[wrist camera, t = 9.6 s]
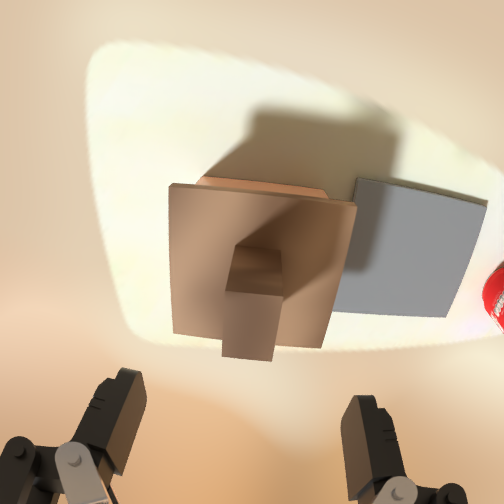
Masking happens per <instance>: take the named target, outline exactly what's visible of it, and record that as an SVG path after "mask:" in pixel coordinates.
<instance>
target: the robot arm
mask: <svg viewBox="0 0 504 504" xmlns="http://www.w3.org/2000/svg"><path fill="white" fill-rule="evenodd" d="M146 402H147V396H146V390H145V386H144V381H143V377H142V373H141V372H140V371H136V370H131V369H127V368H121V369H120V370H119V372H118V374H117V376H116V378H115V379H111V378H107V379H106V380H105V381H103V382H102V383H101V384H100V385H99V386H98V388H97V389H96V391H95V393H94V395H93V399H91V401H90V403H89V407H87V409H86V411H85V413H84V416H83V418H82V420H81V422H80V424H79V426H78V428H77V430H76V432H75V434H74V436H73V438H72V439H71V440H70V441H69V442H67V443H64V444H62V445H61V446H60V447H46V446H35V445H34V444H33V443H32V442H31V441H30V440H29V439H27V438H25V437H21V436H17V437H14V438H12V439H10V440H9V441H8V442H7V443H6V445H5V448H4V449H3V452H2V454H1V456H0V504H57V502H58V499H59V496H60V494H61V493H62V494H65V495H66V498H67V501H68V504H120V502H119V500H118V498H117V496H116V493H115V491H114V489H113V487H112V484H111V479H112V476H113V474H116V475H120V476H122V474H123V471H124V468H125V465H126V463H127V460H128V457H129V454H130V451H131V448H132V445H133V442H134V439H135V436H136V433H137V430H138V428H139V425H140V422H141V419H142V416H143V413H144V411H145V407H146ZM341 437H342V445H343V453H344V461H345V470H346V478H347V488H348V499H349V501H352V500H358V504H468V502H467V497H466V493H465V491H464V489H463V488H462V487H461V486H460V485H458V484H455V483H448V484H446V485H444V486H442V487H441V488H440V489H436V488H427V487H421V486H417V485H415V483H414V482H413V481H412V480H411V479H409V478H408V477H407V476H406V473H405V470H404V465H403V461H402V457H401V453H400V448H399V444H398V441H397V436H396V433H395V428H394V425H393V421H392V418H391V416H390V415H389V414H388V413H387V411H386V410H385V408H377V403H376V399H375V397H374V396H373V395H354V397H353V398H352V400H351V402H350V404H349V406H348V408H347V409H346V411H345V413H344V415H343V417H342V420H341Z"/></svg>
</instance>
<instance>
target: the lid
mask: <svg viewBox="0 0 504 504" xmlns="http://www.w3.org/2000/svg"><path fill="white" fill-rule="evenodd" d="M356 212H357V206H356V204H355V203H354V202H349V201H342V200H335V199H328V198H320V197H312V196H304V195H296V194H288V193H279V192H270V191H261V190H251V189H241V188H230V187H219V186H207V185H194V184H180V183H172V184H171V185H170V186H169V261H170V286H171V305H172V320H173V333H175V334H181V335H188V336H196V337H203V338H211V339H219V340H222V357H230V358H239V359H249V360H259V361H272V357H273V352H274V347H275V345H278V346H291V347H305V348H321V347H322V343H323V340H324V337H325V334H326V330H327V327H328V323H329V320H330V316H331V313H332V309H333V306H334V302H335V299H336V295H337V291H338V287H339V284H340V280H341V276H342V272H343V268H344V264H345V260H346V256H347V252H348V248H349V243H350V239H351V235H352V230H353V226H354V221H355V217H356Z"/></svg>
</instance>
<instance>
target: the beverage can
mask: <svg viewBox="0 0 504 504" xmlns="http://www.w3.org/2000/svg"><path fill="white" fill-rule="evenodd" d="M482 299H483V301H484V306H485V309H486V311H487V312H488V314H489V315H490V316H491V317H492V319H493V320H494V321H495V323H496V324H497V325H498V327H499V328H500V329H501V331H502V332H503V333H504V267H502V268H499V269H497V270H496V271H495V272H493V273H492V274H491V275H490V277H489V278H488V279H487V281H486V283H485V285H484V287H483V291H482Z"/></svg>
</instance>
